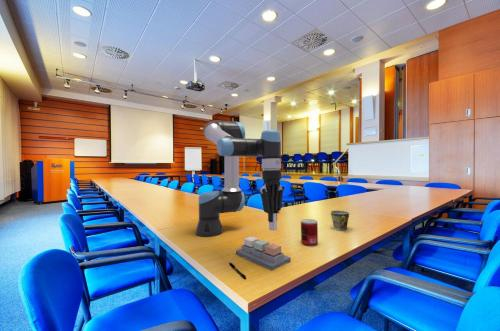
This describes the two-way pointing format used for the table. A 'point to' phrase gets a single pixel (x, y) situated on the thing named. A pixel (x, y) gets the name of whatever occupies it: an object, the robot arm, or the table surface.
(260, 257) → the keypad
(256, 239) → the key ivory
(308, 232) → the canned food
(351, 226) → the table surface
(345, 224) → the ceramic cup
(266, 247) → the key terracotta
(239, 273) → the pen
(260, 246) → the key green
